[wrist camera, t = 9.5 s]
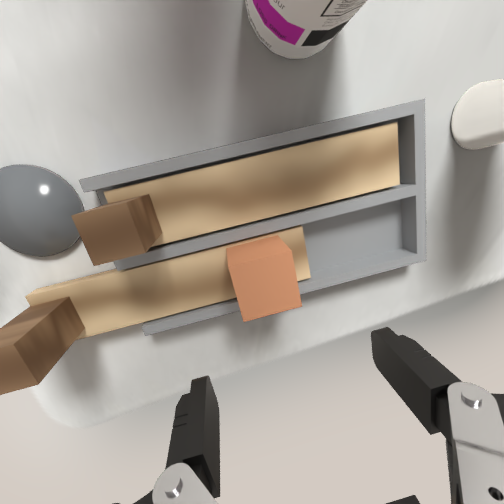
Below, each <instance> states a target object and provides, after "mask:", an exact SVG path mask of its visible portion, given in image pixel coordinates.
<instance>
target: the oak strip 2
mask: <svg viewBox="0 0 504 504" xmlns="http://www.w3.org/2000/svg"><path fill="white" fill-rule="evenodd" d="M276 235H278V236H279V237H280V238H281V239H282V241H283V242H284V243H285V244H286V245H287V246H288V247H289V248H290V249H291V250H292V255H293V260H294V266H295V271H296V276H297V281H300V280H304V279H308V278H311V275H310V269H309V263H308V257H307V251H306V245H305V239H304V233H303V227H302V226H301V225H297V226H293V227H289V228H285V229H281V230H277V231H273V232H269V233H265V234H262V235H258V236H254V237H250V238H246V239H242V240H238V241H234V242H230V243H226V244H222V245H218V246H214V247H210V248H206V249H202V250H199V251H195V252H191V253H187V254H183V255H179V256H175V257H171V258H167V259H163V260H159V261H155V262H151V263H147V264H143V265H140V266H136V267H132V268H128V269H124V270H120V271H117V269H113V270H110V271H106V272H102V273H98V274H94V275H90V276H86V277H82V278H78V279H74V280H70V281H66V282H62V283H58V284H54V285H50V286H46V287H42V288H39V289H36V290H34V291H33V292H31V293H30V294H28V295H27V296H25V297H26V299H27V301H28V303H29V304H30V307H29V308H27V309H26V310H25V311H23V312H22V313H21V314H19V315H18V316H17V317H15V318H14V319H13V320H11V321H10V322H8V323H7V324H6V325H4V326H3V327H2V328H0V395H2V394H5V393H9V392H12V391H16V390H20V389H24V388H27V387H31V386H35V385H38V384H39V383H40V382H41V381H42V380H43V378H44V377H45V376H46V375H47V374H48V372H49V371H50V370H51V369H52V368H53V366H54V365H55V364H56V363H57V362H58V360H59V359H60V358H61V357H62V355H63V354H64V353H65V352H66V351H67V349H68V348H69V347H70V346H71V345H72V343H73V342H74V341H75V340H78V339H82V338H86V337H90V336H93V335H97V334H101V333H105V332H108V331H112V330H116V329H120V328H123V327H127V326H131V325H135V324H139V323H142V322H146V321H150V320H154V319H157V318H161V317H165V316H169V315H172V314H176V313H180V312H184V311H187V310H191V309H195V308H199V307H203V306H206V305H210V304H214V303H218V302H221V301H225V300H229V299H233V298H236V293H235V289H234V286H233V282H232V278H231V275H230V271H229V268H228V260H227V251H226V248H229V247H233V246H237V245H240V244H244V243H248V242H252V241H256V240H260V239H264V238H268V237H272V236H276Z"/></svg>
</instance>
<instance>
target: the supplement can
mask: <svg viewBox="0 0 504 504" xmlns="http://www.w3.org/2000/svg"><path fill="white" fill-rule="evenodd" d="M366 1H367V0H245V3H246V8H247V13H248V18H249V22H250V23H251V25H252V27H253V29H254V31H255V33H256V35H257V37H258V38H259V40H260V41H261V42H262V43H263V44H264V45H265V46H267V47H268V48H269V49H270V50H271V51H272V52H273V53H275V54H278V55H280V56H283V57H285V58H288V59H302V58H308V57H310V56H312V55H314V54H316V53H318V52H320V51H322V50H323V49H324V48H325V47H326V45H327V44H328V43H329V42H330V41H331V40H332V39H333V38H334V37H335V36H336V35H337V34H338V33H339V31H340V30H341V29H342V28H343V27H344V26H345V25H346V24H347V22H348V21H349V20H350V19H351V18H352V17H353V16H354V15H355V13H356V12H357V11H358V10H359V9H360V8H361V7H362V6H363V5H364V3H365V2H366Z"/></svg>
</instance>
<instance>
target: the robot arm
mask: <svg viewBox="0 0 504 504" xmlns="http://www.w3.org/2000/svg"><path fill="white" fill-rule="evenodd" d="M371 341H372V353H373V359H374V362H375V364H376V367H377V368H378V370H379V371H380V372H381V374H382V375H383V376H384V377H385V379H386V380H387V381H388V382H389V384H390V385H391V386H392V387H393V389H394V390H395V391H396V392H397V394H398V395H399V396H400V397H401V398H402V400H403V401H404V402H405V403H406V405H407V406H408V407H409V408H410V410H411V411H412V412H413V413H414V415H415V416H416V417H417V418H418V420H419V421H420V422H421V423H422V425H423V426H424V427H425V428H426V430H427V431H428V432H429V433H430V435H431V434H435V433H438V432H441V433H442V434H443V435H444V436H445V438H446V450H447V460H448V470H449V481H450V491H451V504H504V394H490V393H489V392H488V391H487V390H485V389H483V388H482V387H479V386H477V385H475V384H472V383H467V382H462V381H461V380H459V379H458V378H457V377H456V376H455V375H454V374H453V373H451V372H450V371H449V370H448V369H447V368H446V367H445V366H443V365H442V364H441V363H440V362H439V361H438V360H436V359H435V358H434V357H432V356H431V354H429V353H428V352H427V351H426V350H424V348H423V347H422V346H420V345H419V344H418V343H417V342H416V341H415V340H413V339H411V338H408V337H406V336H404V335H400V336H398V335H396V334H395V333H394V332H393V331H392V330H391V329H390V328H388V327H386V328H382V329H378V330H374V331H372V332H371ZM219 435H220V433H219V407H218V402H217V398H216V395H215V393H214V390H213V387H212V384H211V381H210V378H209V376H204V377H200V378H197V379H193V380H192V382H191V390H190V393H188V394H184V395H182V397H181V399H180V401H179V402H178V404H177V406H176V411H175V419H174V423H173V429H172V434H171V441H170V446H169V452H168V458H167V464H166V468H165V471H164V472H163V473H162V474H161V475H160V476H159V478H158V479H157V481H156V483H155V486H154V489H153V490H152V491H151V492H150V493H148V494H147V495H146V496H144V497H143V498H141V499H140V500H138V501H137V502H135V503H134V504H218V503H217V502H216V501H215V499H214V498H217V497H220V436H219ZM114 504H119V503H114ZM386 504H420V503H419V501H418V499H417V498H416V496H415V495H412V496H409V497H406V498H403V499H399V500H396V501H393V502H390V503H386Z"/></svg>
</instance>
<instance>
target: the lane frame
mask: <svg viewBox="0 0 504 504" xmlns="http://www.w3.org/2000/svg"><path fill="white" fill-rule="evenodd" d="M395 122H397V126H398V151H399V176H400V185H396V186H392V187H388V188H384V189H380V190H376V191H372V192H368V193H364V194H360V195H356V196H352V197H348V198H344V199H340V200H336V201H332V202H328V203H324V204H320V205H316V206H312V207H308V208H304V209H300V210H296V211H292V212H288V213H284V214H280V215H276V216H272V217H269V218H265V219H261V220H257V221H253V222H249V223H245V224H241V225H237V226H233V227H229V228H225V229H221V230H217V231H213V232H209V233H205V234H201V235H197V236H193V237H189V238H185V239H181V240H177V241H173V242H169V243H165V244H161V245H157V246H153V247H150V248H149V250H148V251H147V252H146V253H144V254H140V255H136V256H132V257H128V258H124V259H120V260H116V261H113V262H114V264H115V266H116V269H117V271H120V270H124V269H128V268H132V267H136V266H140V265H143V264H147V263H151V262H155V261H159V260H163V259H167V258H171V257H175V256H179V255H183V254H187V253H191V252H195V251H199V250H202V249H206V248H210V247H214V246H218V245H222V244H226V243H230V242H234V241H238V240H242V239H246V238H250V237H254V236H258V235H262V234H265V233H269V232H273V231H277V230H281V229H285V228H289V227H293V226H297V225H301V226H302V227H303V233H304V239H305V245H306V251H307V257H308V263H309V269H310V275H311V278H308V279H304V280H300V281H297V282H298V287H299V292H300V294H304V293H307V292H311V291H315V290H318V289H322V288H326V287H330V286H333V285H337V284H341V283H345V282H348V281H352V280H356V279H359V278H363V277H367V276H371V275H374V274H378V273H382V272H386V271H389V270H393V269H397V268H400V267H404V266H408V265H412V264H415V263H419V262H423V261H426V162H425V99H421V100H417V101H413V102H409V103H404V104H400V105H396V106H392V107H387V108H383V109H379V110H375V111H370V112H366V113H362V114H358V115H353V116H349V117H345V118H340V119H336V120H332V121H328V122H323V123H319V124H315V125H311V126H306V127H302V128H298V129H294V130H289V131H285V132H281V133H277V134H272V135H268V136H264V137H259V138H255V139H251V140H247V141H242V142H238V143H234V144H230V145H225V146H221V147H217V148H213V149H208V150H204V151H200V152H196V153H191V154H187V155H183V156H178V157H174V158H170V159H166V160H161V161H157V162H153V163H149V164H144V165H140V166H136V167H132V168H127V169H123V170H119V171H115V172H110V173H106V174H102V175H97V176H93V177H89V178H85V179H80V180H79V182H80V184H81V187H82V189H83V191H84V192H89V191H95V190H96V192H97V195H98V197H99V199H100V202H101V204H102V205H106V204H108V202H107V199H106V197H105V194H104V192H105V191H109V190H113V189H117V188H122V187H126V186H130V185H134V184H138V183H143V182H147V181H151V180H155V179H159V178H164V177H168V176H172V175H176V174H181V173H185V172H189V171H193V170H197V169H202V168H206V167H210V166H214V165H218V164H223V163H227V162H231V161H235V160H239V159H244V158H248V157H252V156H256V155H260V154H265V153H269V152H273V151H277V150H281V149H286V148H290V147H294V146H298V145H302V144H307V143H311V142H315V141H319V140H323V139H328V138H332V137H336V136H340V135H344V134H349V133H353V132H357V131H361V130H365V129H370V128H374V127H378V126H382V125H386V124H391V123H395ZM236 311H240V307H239V304H238V300H237V297H236V298H233V299H229V300H225V301H221V302H218V303H214V304H210V305H206V306H203V307H199V308H195V309H191V310H187V311H184V312H180V313H176V314H172V315H169V316H165V317H161V318H157V319H154V320H150V321H146V322H144V324H143V326H142V329H143V332H144V334H145V336H147V335H151V334H154V333H158V332H162V331H166V330H169V329H173V328H177V327H181V326H184V325H188V324H192V323H195V322H199V321H203V320H207V319H210V318H214V317H218V316H222V315H225V314H229V313H233V312H236Z"/></svg>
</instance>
